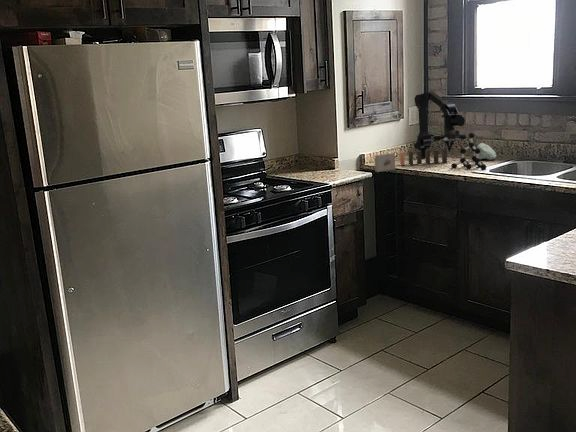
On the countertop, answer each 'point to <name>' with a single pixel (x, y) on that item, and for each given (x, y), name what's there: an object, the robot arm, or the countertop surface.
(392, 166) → the fossil
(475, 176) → the countertop surface
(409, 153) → the domino
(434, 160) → the domino
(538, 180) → the countertop surface
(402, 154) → the domino
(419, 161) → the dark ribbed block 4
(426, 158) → the domino
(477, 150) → the molecular model
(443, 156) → the domino
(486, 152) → the decorative stone
